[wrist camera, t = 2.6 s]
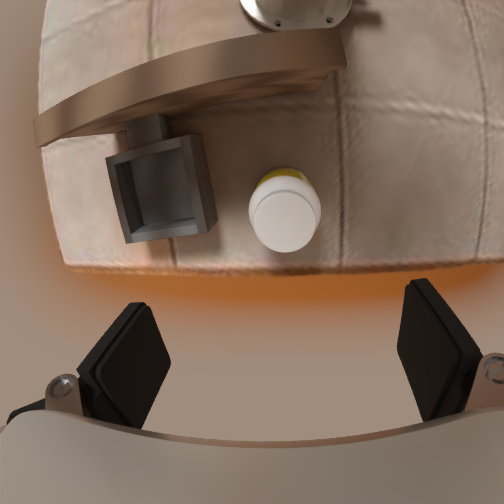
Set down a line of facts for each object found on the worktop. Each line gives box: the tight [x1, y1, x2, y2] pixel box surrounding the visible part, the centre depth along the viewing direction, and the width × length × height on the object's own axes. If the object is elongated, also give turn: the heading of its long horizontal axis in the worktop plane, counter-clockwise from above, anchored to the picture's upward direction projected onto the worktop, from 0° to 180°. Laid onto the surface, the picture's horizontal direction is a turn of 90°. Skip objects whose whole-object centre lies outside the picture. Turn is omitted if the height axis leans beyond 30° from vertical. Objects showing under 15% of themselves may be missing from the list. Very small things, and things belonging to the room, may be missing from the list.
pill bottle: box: [248, 167, 321, 253], centre depth 26 cm, size 6×6×11 cm
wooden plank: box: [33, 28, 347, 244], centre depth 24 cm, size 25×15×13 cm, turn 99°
